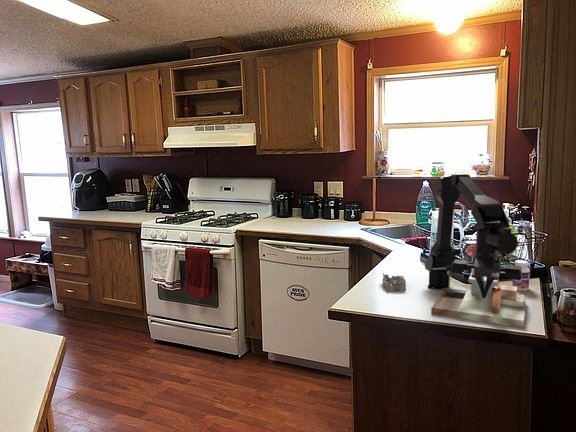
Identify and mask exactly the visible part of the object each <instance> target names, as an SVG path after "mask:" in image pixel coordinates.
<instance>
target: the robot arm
mask: <svg viewBox="0 0 576 432" xmlns="http://www.w3.org/2000/svg"><path fill="white" fill-rule="evenodd" d="M434 194H435V197H436V198H437V201H438V202H439V203H438V204H439V205H438V213H437V216H438V217H437V226H436V228H437V229H436V236H435V237H436V239H435V242H434V244H433V245H432V247H431V248H430V251H429V256H428V257H427V258H426V260H425V262H424V268H425V270H426V271H428V284H427V288H429V289H436V290H443V288H449V287H450V286H451V273H453V274H459V275H460V274H463V273H464V272H465V271H469V272H470V273H472V275H471V274H470V275H471V277H473V278H475V279H476V280H477V282H478V285H479V287H480V291H481V294H482V297H483V298H485V297H486V295H487V292H488V290H489V288H490V286H491V284H492V282H493V281H494V280H498V278H499V277H500V275H504V276H505V277H506V278H507V279H508V280H512V279H514V280H521V274H522V268H521V267H520V266H517V265H515V264H514V265H513V264H506V266H505V267H502V261H501V259H499V260H498V252H500V253H502V254H505V255H509V254H512V253H514V252H515V251H516V250H517V248H518V245H519V241H518V238H517V236H516V234H514V233H512V228H510V220H509V218H508V217H507V214H506V212H505V209H504V207H503V206H502V205H503V204H501V202H499V201H498V200H496V199H495V198H492V197H490V196H487V195H486V194H485V193H484V192H483V191H482V190H481V189H480V187H478V185H477V184H476V182H474V181H473V180H472V179H471V175H470V174H469V173H466V172H461V173H454V174H451V175H448V176H446V177H439V178H438V179H437V180H436V181H435V182H434ZM461 195H462V197H463V198H464V199H465V200H466V202H467V203H468V204H469V206H471V211H470V214H471V216H472V217H473V219H474V221H475V222H476V223H474V224H473V228H474V229H476V235H475V236H476V239H475V240H476V241H475V257H474V259H473V264H470V263H468V261H467V260H465V259H464V260H463V259H456V254H457V252H456V250H454V247H452V245H451V243H452V235H453V234H452V233H453V223H454V222H453V221H454V214H455V213H454V212H455V204H456V203H457V202H458V200H459V199H460V197H461ZM484 277H487V280H486V285H485V284H484Z"/></svg>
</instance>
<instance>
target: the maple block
mask: <svg viewBox="0 0 576 432" xmlns="http://www.w3.org/2000/svg"><path fill="white" fill-rule="evenodd" d="M500 287H501V299H509V300H517V297H518V290H517V287H514V286H512V285H505V284H503V285H502V284H501V286H500Z"/></svg>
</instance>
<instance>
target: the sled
mask: <svg viewBox="0 0 576 432" xmlns="http://www.w3.org/2000/svg"><path fill="white" fill-rule="evenodd" d="M519 297H520V301H518V300H509V299H501V286H498V287H496V286H494V287H492V301H491V311H492V312H500V304H503V305H511V306H518V307H523V303H524V298H525V294H520V295H519Z"/></svg>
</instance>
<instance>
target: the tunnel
mask: <svg viewBox="0 0 576 432" xmlns="http://www.w3.org/2000/svg"><path fill="white" fill-rule="evenodd" d="M471 275H472V272H470V276H469V277H468V283H469V284H470V291H471V293H472V294H480V295H482V294H481V291H480V287H479V285H478V282H477V280H476V279H475V278H473V277H471ZM486 280H487V277H484V284H485V285H486ZM499 282H500V281H499V278H498V280H494V281H493V282H492V284H491V286H490V288H489V290H488V292H487V295H488V296H492V287H494V286H496V287H499Z"/></svg>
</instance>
